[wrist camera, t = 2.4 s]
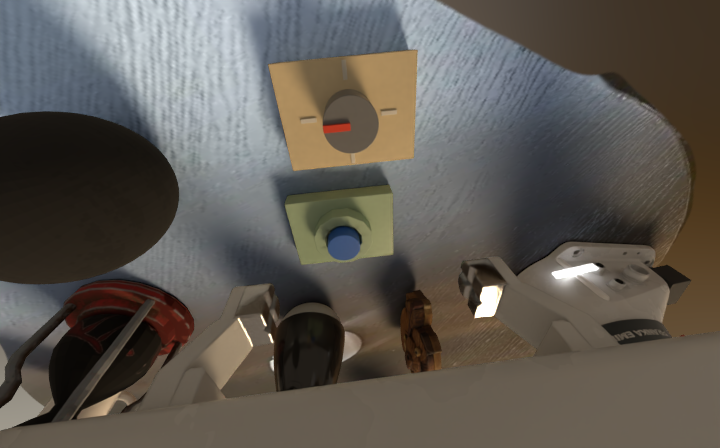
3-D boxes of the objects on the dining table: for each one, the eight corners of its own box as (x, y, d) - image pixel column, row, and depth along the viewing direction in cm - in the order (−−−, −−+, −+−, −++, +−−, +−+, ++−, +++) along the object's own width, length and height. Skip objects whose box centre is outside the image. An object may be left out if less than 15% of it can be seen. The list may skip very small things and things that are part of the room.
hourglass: (167, 357, 46) (27, 611, 25) (56, 321, 39) (-267, 633, 18) (214, 311, 40) (84, 590, 19) (95, 259, 33) (-310, 608, 12)
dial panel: (408, 49, 23) (418, 49, 21) (406, 148, 28) (414, 158, 26) (275, 62, 23) (267, 64, 20) (296, 160, 28) (292, 171, 25)
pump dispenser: (326, 283, 39) (321, 395, 26) (353, 321, 44) (360, 429, 32) (266, 304, 40) (235, 420, 28) (300, 338, 46) (286, 448, 33)
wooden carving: (393, 282, 40) (408, 343, 31) (422, 277, 40) (446, 337, 31) (398, 342, 49) (411, 402, 40) (422, 339, 49) (440, 398, 40)
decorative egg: (88, 203, 29) (-100, 318, 16) (44, 80, 22) (-320, 117, 10) (208, 221, 31) (123, 333, 19) (199, 115, 25) (62, 179, 12)
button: (357, 224, 29) (359, 233, 27) (360, 249, 31) (361, 258, 29) (325, 227, 29) (325, 237, 27) (330, 252, 31) (330, 262, 29)
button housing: (389, 184, 30) (395, 200, 27) (390, 244, 35) (396, 264, 32) (287, 195, 30) (281, 213, 27) (302, 254, 35) (299, 275, 32)
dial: (372, 86, 22) (378, 92, 19) (374, 139, 24) (380, 152, 21) (320, 91, 22) (317, 98, 19) (328, 143, 24) (326, 157, 21)
